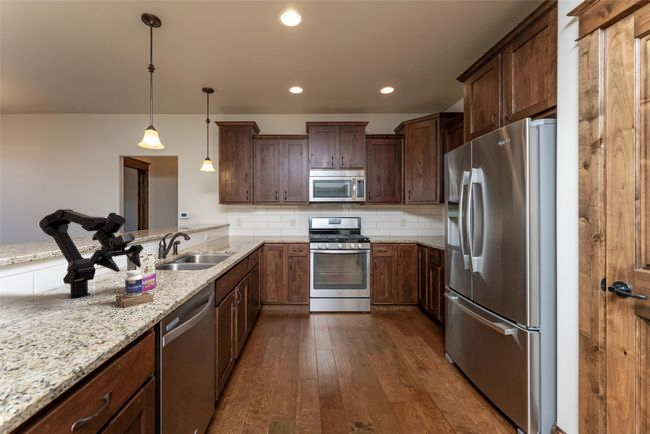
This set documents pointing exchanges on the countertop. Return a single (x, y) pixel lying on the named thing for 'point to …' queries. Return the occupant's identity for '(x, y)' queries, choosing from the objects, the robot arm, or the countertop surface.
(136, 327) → the countertop surface
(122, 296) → the walnut block
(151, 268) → the candy bar box
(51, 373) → the countertop surface
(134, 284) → the pill bottle
